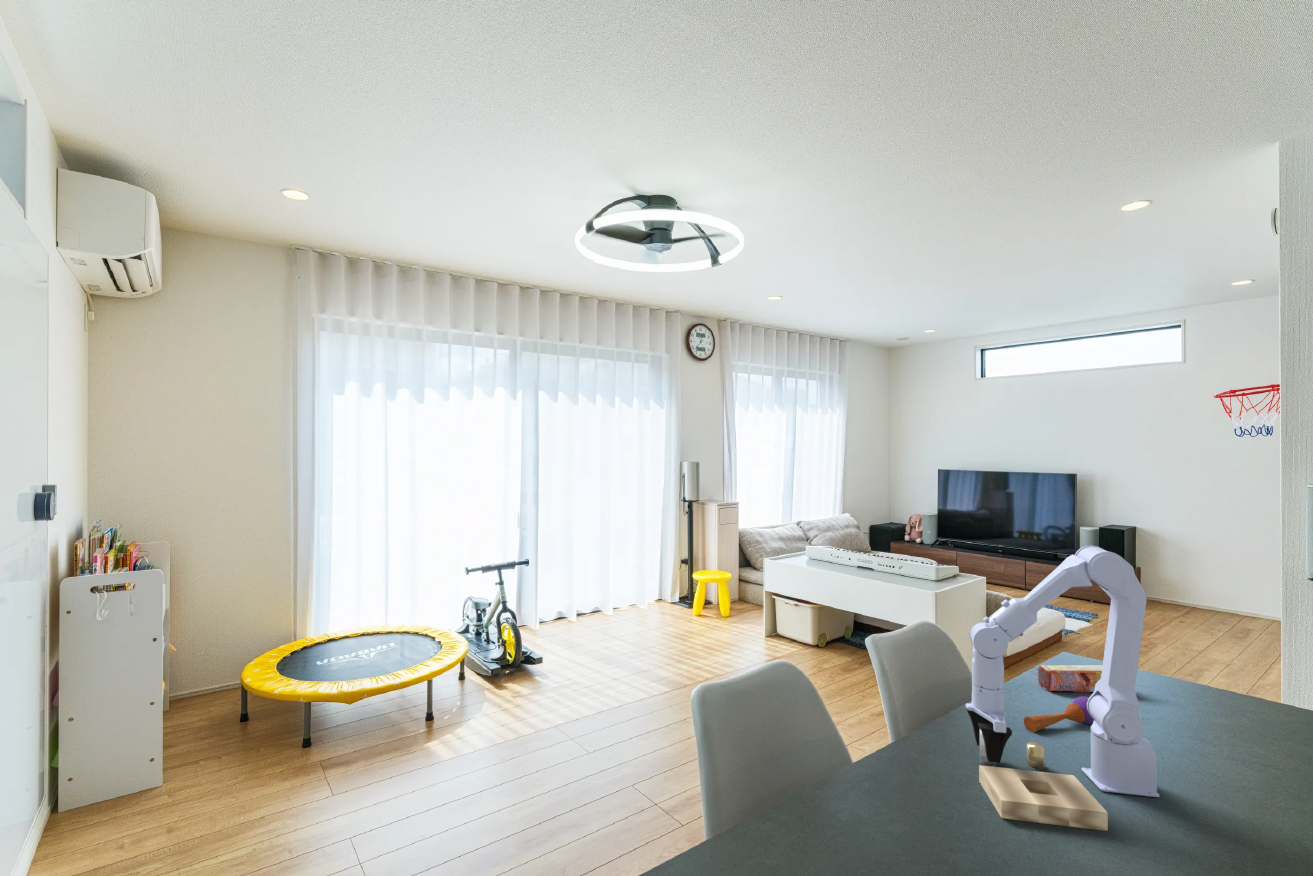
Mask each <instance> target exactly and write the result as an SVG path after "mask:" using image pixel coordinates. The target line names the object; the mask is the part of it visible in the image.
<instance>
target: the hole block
mask: <svg viewBox="0 0 1313 876" xmlns="http://www.w3.org/2000/svg"><path fill="white" fill-rule="evenodd" d="M978 782H979V784H980V783H981V784H980V785H981V787H982V788H983V790H984V791H985V794H986V795H987V796H988V798H989V800H990V801H991V803H992V805H993V806H994V808H995V810H996V811H997V813H998V815H999V816H1000V818H1001V819H1006V820H1014V821H1022V822H1029V823H1030V822H1031V823H1036V824H1037V823H1038V824H1047V825H1056V826H1061V827H1063V826H1064V827H1071V828H1072V827H1073V828H1080V829H1087V830H1096V831H1104V832H1109V824H1108V823H1109V814H1108V810H1106V809H1105V808H1104V806H1103V805H1101V804H1100V802H1099V801H1098V800H1097V799H1096V798H1095V797H1094V796H1093V795H1092V793H1090V792H1089V791H1088V789H1087V788H1086V787H1085V786H1084V785H1083V784H1082V782H1081V781H1080V780H1079V779H1078V778H1077V777H1076V776H1075V775H1073V774H1064V773H1056V772H1048V771H1047V772H1045V771H1039V770H1037V771H1036V770H1028V769H1027V770H1025V769H1017V768H1010V767H1009V768H1008V767H1002V766H1001V767H999V766H995V767H991V766H985V765H983V764H981V765H978Z"/></svg>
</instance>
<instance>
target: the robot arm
mask: <svg viewBox="0 0 1313 876" xmlns="http://www.w3.org/2000/svg"><path fill="white" fill-rule="evenodd" d="M1091 581H1092V582H1094V583H1096V585H1098V586H1099V587H1100V589H1102V590H1103V592H1104V593H1106V595H1107V596H1108V597H1109V598H1110V606H1109V615H1108V622H1107V628H1106V637H1105V645H1104V653H1103V658H1102V659H1103V661H1102V665H1103V666H1102V674H1101V679H1100V680H1099V681H1098V682H1097V683H1096V684H1095V690H1094V692H1093V693H1092V694H1091V695H1090V696H1089V699H1088V701H1087V710H1088V712H1089V714H1090V715H1091V717H1092V718H1093V719H1094V722H1093V724H1092V725H1090V768H1089V767H1081V771H1082V772H1083V773H1084V774H1085V776H1086V777H1087V778H1089V780H1091V782H1092V783H1094V785H1095V786H1096V787H1097V788H1098V790H1100V791H1101V792H1107V793H1116V794H1126V795H1135V796H1143V797H1151V798H1152V797H1153V798H1160V794H1159V792H1158V778H1157V777H1158V775H1157V773H1158V771H1157V769H1158V768H1157V765H1158V764H1157V762H1158V761H1157V756H1156V752H1155V750H1154V749H1155V748H1154V747H1153V745H1152V744H1151V742H1150V741H1149V740H1148V739H1147V738H1143V737H1142V736H1143V732H1144V725H1143V722H1142V720H1141V716H1140V708H1141V706H1140V704H1139V700H1138V697H1137V693H1136V683H1137V675H1138V667H1139V660H1140V653H1141V645H1142V644H1141V643H1142V636H1143V631H1144V630H1143V629H1144V621H1145V614H1146V607H1147V601H1148V599H1147V594H1146V592H1145V590H1144V588H1143V586H1142V584H1141V582H1140V581H1139V579H1138V577H1137V575H1136V574H1135V570H1134V566H1133V565H1132V564H1130V563H1129V562H1128V561H1127V560H1125V558H1123V557H1122V556H1121V555H1119V554H1117V553H1115V552H1112V551H1108V550H1105V549H1104V548H1102V547H1100V546H1098V545H1085V546H1082V547H1080V548H1079V549H1078V550H1077V551H1076V552H1075V554H1071V555H1069V556H1068V557H1066V558H1065V559H1064V560H1063V561H1062V562H1061V563H1060V564H1059V565H1058V566H1057V567H1056V568H1055V569H1053V571H1051V573H1049V574H1048V575H1047V576H1045V578H1044V579H1043V580H1042V581H1040V583H1038V584H1037V585H1036V586H1035V587H1034V588H1033V589H1032V590H1031V591H1030V592H1028V593H1027V594H1026V595H1025V596H1024V597H1022V598H1021V597H1018V598H1017V597H1012V598H1010V600H1007V599H1004V600H1002V601H1001V602H1000V604H1001V607H1000V608H999V609H997V610H996V611H995V612H993V613H992V614H991V615H990V616H989V617H988V616H985V617H983V618H982V621H983V622H978V623H976V624H975V625H974V626H972V628H971V629H970V633H968V635H969V640H970V641H971V643H972V645H973V646H972V653H971V654H972V659H971V702H970V703H968V702H967V703H965V710H966V712H967V713H968V716H969V718H970V722H971V724H972V725H971V726H972V729H973V734H974V740H975V743H976V745H977V746H979V747H980V730H981V732H982V735H983V739H984V744H985V751H986V756H987V760H988V761H989V762H997V763H998V764H1000V763H1001V760H1002V756H1003V752H1004V750H1005V748H1006V747H1005V746H1006V744H1007V742H1008V740H1009V739H1010V737H1011V736H1012V735H1013V730H1012V729H1011V727H1007V722H1006V708H1005V664H1004V655H1005V654H1006V653H1007V650H1008V647H1009V643H1011V642H1013V641H1014V640H1015V639H1017V638H1018V637H1019V636H1020V635H1022V634H1023V633H1024V632H1026V631H1027V630H1028V629H1030V628H1031V626H1033V625H1034V624H1036V623H1037V621H1038V612H1039V611H1040V610H1042V609H1043V608H1045V607H1046V606H1047V605H1048V604H1050V603H1051V602H1054V600H1055V599H1057V598H1058V597H1059V596H1061V595H1062V594H1064V593H1065V592H1067V591H1069V590H1070V589H1071V588H1073V587H1074V588H1076V587H1078V588H1079V587H1080V588H1081V587H1092V586H1093V583H1092V582H1091Z"/></svg>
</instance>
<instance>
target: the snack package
mask: <svg viewBox="0 0 1313 876" xmlns="http://www.w3.org/2000/svg"><path fill="white" fill-rule="evenodd" d="M1102 666H1103V664H1099V665H1096V664H1089V665H1085V664H1083V665H1082V664H1081V665H1080V664H1077V665H1076V664H1075V665H1073V664H1072V665H1070V664H1069V665H1067V664H1065V665H1064V664H1061V665H1058V664H1057V665H1053V664H1052V665H1049V664H1048V665H1046V664H1041V665H1039V666H1038V670H1037V671H1038V672H1037V681H1038V684H1039V686H1040V685H1041V686H1042V687H1044V688H1046V689H1047V690H1049V691H1048V692H1050V691H1060V692H1061V691H1073V692H1072V693H1090V692H1094V690H1095V684H1096V683H1097V682H1098V681H1099V680H1100V679H1101V674H1102ZM1041 686H1040V687H1041ZM1042 687H1041V688H1042ZM1044 688H1043V689H1044ZM1046 689H1045V690H1046ZM1047 690H1046V691H1047Z"/></svg>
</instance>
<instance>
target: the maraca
mask: <svg viewBox="0 0 1313 876" xmlns="http://www.w3.org/2000/svg"><path fill="white" fill-rule="evenodd" d="M1089 697H1090V696H1089ZM1089 697H1088V696H1078V697H1076V698H1075V699H1074V700H1073V701H1072V702H1070V704H1068V706H1067V707H1066V709H1065V710H1064V712H1063V713H1053V714H1043V715H1042V714H1041V715H1031V716H1025V717H1024V718H1023V724H1024V727H1025V728H1026V730H1028V731H1029V732H1032V733H1036V732H1038V731H1041V730H1043V729H1045V728H1047V727H1049V726H1052V725H1054V724H1057V723H1059V722H1061V721H1064V720H1066V719H1067V720H1069V721H1072V722H1076V723H1079V724H1081V723H1082V722H1083V724H1084V725H1085V724H1086V725H1090V724H1093V722H1094V719H1093V718H1092V717H1091V715H1090V714H1089V712H1088V710H1087V701H1088V699H1089Z"/></svg>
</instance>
